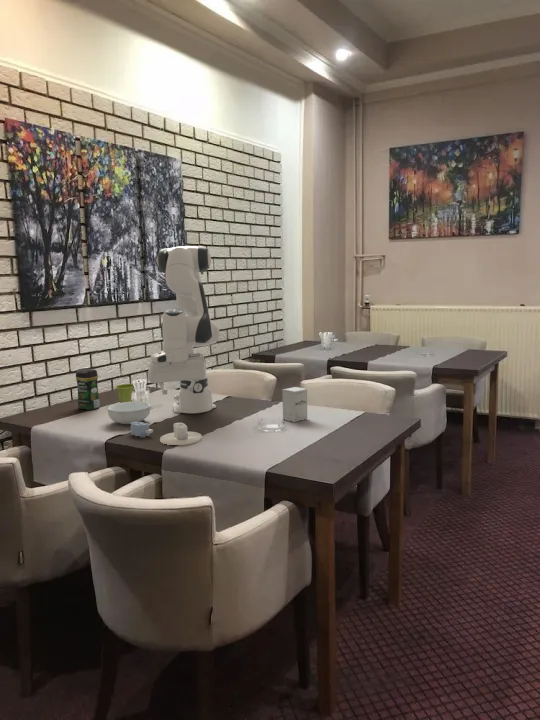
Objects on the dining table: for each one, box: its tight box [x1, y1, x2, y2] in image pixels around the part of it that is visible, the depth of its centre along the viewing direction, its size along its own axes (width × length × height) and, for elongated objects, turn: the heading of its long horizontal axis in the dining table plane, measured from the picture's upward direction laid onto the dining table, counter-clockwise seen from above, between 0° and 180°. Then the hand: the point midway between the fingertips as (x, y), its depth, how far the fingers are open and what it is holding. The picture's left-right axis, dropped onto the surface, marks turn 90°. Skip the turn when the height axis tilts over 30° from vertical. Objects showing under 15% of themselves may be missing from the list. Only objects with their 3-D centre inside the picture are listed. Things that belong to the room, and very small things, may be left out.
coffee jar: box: [75, 367, 101, 411], centre depth 265 cm, size 10×8×19 cm
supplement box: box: [281, 386, 308, 423], centre depth 234 cm, size 7×7×13 cm
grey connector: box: [173, 422, 188, 440], centre depth 210 cm, size 10×4×4 cm, turn 24°
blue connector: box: [130, 421, 154, 438], centre depth 218 cm, size 10×4×4 cm, turn 54°
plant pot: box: [114, 383, 133, 403], centre depth 272 cm, size 9×9×9 cm
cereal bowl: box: [107, 400, 151, 425], centre depth 238 cm, size 17×17×7 cm
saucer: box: [159, 430, 202, 446], centre depth 211 cm, size 15×15×1 cm
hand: (177, 392), depth 209 cm, fingers open, 8 cm apart
